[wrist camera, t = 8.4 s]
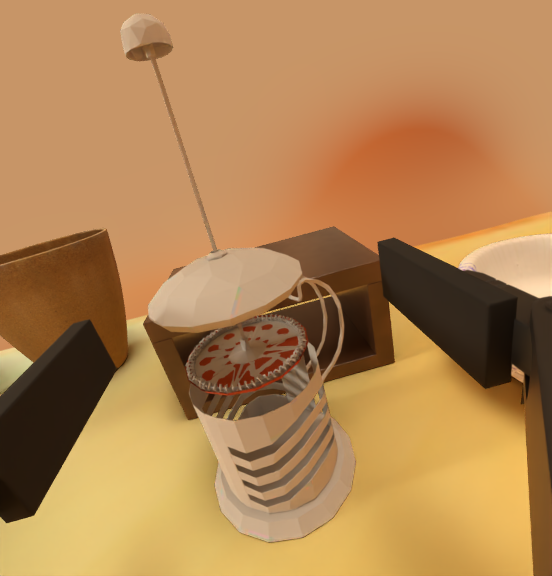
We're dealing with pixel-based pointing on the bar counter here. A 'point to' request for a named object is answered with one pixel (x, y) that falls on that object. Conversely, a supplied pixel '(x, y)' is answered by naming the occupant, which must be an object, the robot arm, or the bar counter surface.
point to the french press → (253, 368)
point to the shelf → (307, 314)
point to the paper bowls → (516, 267)
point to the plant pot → (62, 293)
